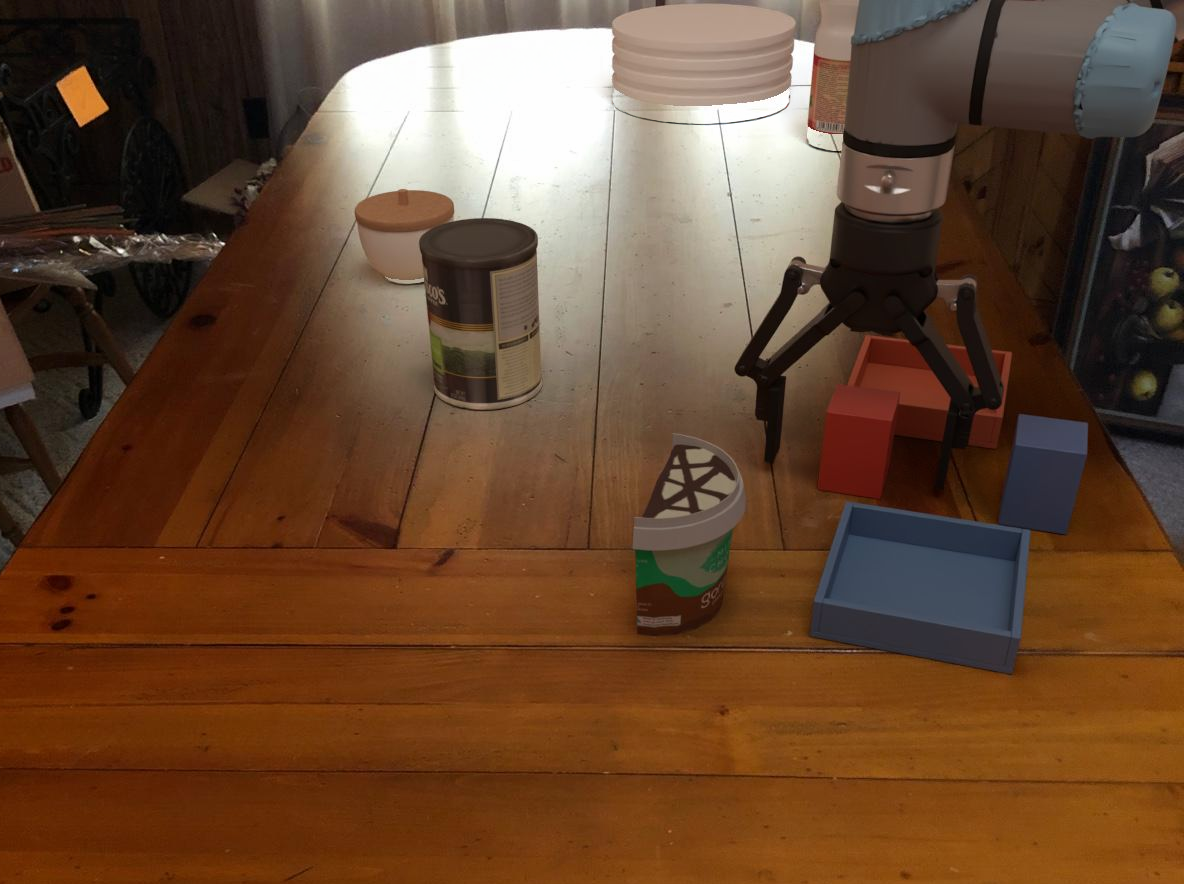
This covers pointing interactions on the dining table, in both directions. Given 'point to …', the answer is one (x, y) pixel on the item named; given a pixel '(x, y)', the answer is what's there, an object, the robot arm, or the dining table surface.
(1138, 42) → the robot arm
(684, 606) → the food container
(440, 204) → the trinket box
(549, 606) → the dining table surface
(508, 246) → the coffee can
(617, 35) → the plate stack
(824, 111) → the fruit juice
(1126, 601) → the dining table surface
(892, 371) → the red tray
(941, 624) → the blue tray
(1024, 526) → the blue block
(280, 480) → the dining table surface
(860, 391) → the red block
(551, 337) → the dining table surface
